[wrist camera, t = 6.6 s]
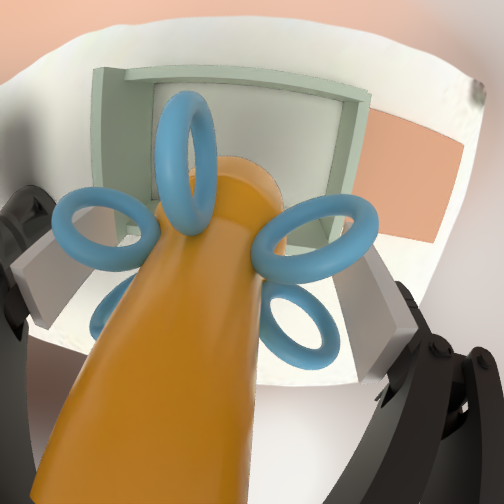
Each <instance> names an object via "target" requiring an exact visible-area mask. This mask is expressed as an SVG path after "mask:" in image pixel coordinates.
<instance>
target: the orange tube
mask: <svg viewBox="0 0 504 504" xmlns="http://www.w3.org/2000/svg"><path fill="white" fill-rule="evenodd" d="M190 129H191V132H192V137H193V143H194V150H195V167H194V168H192V169H191V170H190V171H189V172H188V137H189V130H190ZM154 160H155V175H156V183H157V189H158V193H159V197H160V202H159V204H158V205H157V207H156V210H155V212H154V214H153V213H152V212H151V211H150V210H149V209H148V208H147V207H146V206H145V205H144V204H143V203H141V202H140V201H139V200H137V199H135V198H134V197H132V196H130V195H128V194H126V193H123V192H120V191H117V190H114V189H110V188H104V187H86V188H81V189H77V190H74V191H72V192H70V193H68V194H67V195H65V196H64V197H63V198H62V199H61V200H60V201H59V202H58V203H57V205H56V206H55V208H54V211H53V214H52V231H53V234H54V237H55V239H56V241H57V243H58V244H59V246H60V247H61V248H62V249H63V250H64V251H65V252H66V253H67V254H68V255H69V256H70V257H71V258H73V259H74V260H76V261H78V262H79V263H81V264H83V265H85V266H88V267H91V268H94V269H97V270H102V271H110V272H121V271H128V270H133V269H136V268H139V267H141V268H140V269H139V271H138V272H137V273H136V274H134V275H132V276H131V277H129V278H127V279H126V280H124V281H123V282H122V283H120V284H119V285H118V286H116V287H115V288H114V289H113V290H112V291H111V292H110V293H109V294H108V295H107V296H106V297H105V298H104V299H103V300H102V301H101V303H100V304H99V305H98V307H97V308H96V310H95V311H94V313H93V315H92V318H91V320H90V325H89V329H90V334H91V336H92V337H93V338H94V339H95V340H96V342H95V344H94V346H93V348H92V349H91V351H90V353H89V355H88V357H87V359H86V361H85V363H84V365H83V367H82V368H81V370H80V372H79V374H78V377H77V378H76V380H75V382H74V384H73V386H72V388H71V390H70V393H69V395H68V397H67V399H66V401H65V403H64V405H63V408H62V410H61V412H60V414H59V417H58V419H57V421H56V423H55V426H54V428H53V431H52V433H51V436H50V438H49V440H48V443H47V445H46V448H45V451H44V454H43V456H42V459H41V462H40V465H39V467H38V471H37V473H36V476H35V479H34V482H33V486H32V489H31V492H30V498H31V499H32V500H33V502H34V503H35V504H247V500H248V487H249V475H250V461H251V449H252V433H253V421H254V406H255V390H256V376H257V360H258V344H259V337H260V339H261V340H262V342H263V343H264V344H265V345H266V346H267V348H268V349H269V350H270V351H271V352H272V353H274V354H275V355H276V356H277V357H279V358H280V359H281V360H283V361H284V362H286V363H288V364H290V365H292V366H295V367H297V368H301V369H305V370H318V369H322V368H325V367H327V366H328V365H330V364H331V363H332V362H333V361H334V360H335V359H336V357H337V355H338V353H339V349H340V335H339V331H338V328H337V326H336V323H335V321H334V319H333V318H332V316H331V314H330V313H329V312H328V310H327V309H326V308H325V306H324V305H323V304H322V303H321V302H320V301H319V300H318V299H317V298H316V297H315V296H313V295H312V294H311V293H310V292H308V291H307V290H305V289H304V288H302V287H300V286H298V285H296V284H305V283H310V282H315V281H318V280H322V279H325V278H328V277H330V276H333V275H335V274H337V273H339V272H341V271H343V270H345V269H346V268H348V267H349V266H351V265H352V264H354V263H355V262H356V261H358V260H359V259H360V258H361V257H362V256H363V255H364V254H365V253H366V252H367V251H368V250H369V249H370V247H371V246H372V244H373V243H374V241H375V239H376V237H377V234H378V231H379V216H378V213H377V211H376V209H375V208H374V206H373V205H372V204H371V203H370V202H369V201H367V200H366V199H364V198H362V197H359V196H356V195H351V194H331V195H325V196H320V197H316V198H313V199H310V200H307V201H304V202H302V203H299V204H297V205H295V206H293V207H291V208H289V209H287V210H285V211H284V205H283V200H282V195H281V192H280V190H279V187H278V185H277V184H276V182H275V181H274V179H273V178H272V177H271V175H270V174H269V173H268V172H267V171H266V170H265V169H263V168H262V167H261V166H259V165H258V164H256V163H254V162H252V161H250V160H247V159H244V158H241V157H236V156H219V157H217V147H216V137H215V130H214V125H213V120H212V116H211V113H210V110H209V107H208V105H207V103H206V101H205V100H204V98H203V97H202V96H201V95H200V94H198V93H196V92H194V91H182V92H179V93H177V94H175V95H174V96H173V97H172V98H171V99H170V100H169V101H168V102H167V104H166V105H165V107H164V109H163V111H162V114H161V116H160V119H159V123H158V127H157V132H156V139H155V154H154ZM91 206H100V207H107V208H111V209H114V210H117V211H119V212H121V213H123V214H125V215H127V216H128V217H129V218H131V219H132V220H133V221H134V222H135V223H136V224H137V225H138V227H139V229H140V231H141V238H140V240H139V241H138V242H137V243H135V244H133V245H129V246H124V247H111V246H105V245H101V244H98V243H95V242H93V241H91V240H89V239H87V238H86V237H84V236H83V235H81V234H80V233H79V232H78V231H77V230H76V228H75V227H74V225H73V223H72V216H73V215H74V213H75V212H77V211H78V210H80V209H82V208H86V207H91ZM329 216H346V217H350V218H352V219H353V220H354V222H353V224H352V226H351V227H350V229H349V230H348V231H347V232H346V233H345V234H343V235H342V236H341V237H340V238H338V239H337V240H335V241H333V242H332V243H330V244H328V245H326V246H324V247H322V248H319V249H317V250H314V251H311V252H308V253H304V254H300V255H293V256H285V252H286V246H287V234H289V233H290V232H292V231H293V230H295V229H296V228H298V227H300V226H302V225H304V224H306V223H308V222H311V221H313V220H316V219H320V218H324V217H329ZM273 298H283V299H286V300H289V301H291V302H293V303H295V304H296V305H298V306H299V307H301V308H302V309H303V310H304V311H305V312H306V313H307V314H308V315H309V316H310V317H311V318H312V319H313V321H314V322H315V324H316V325H317V327H318V329H319V331H320V334H321V338H322V345H321V347H320V348H319V349H309V348H306V347H304V346H301V345H300V344H298V343H296V342H295V341H293V340H292V339H291V338H290V337H288V336H287V335H286V334H285V333H284V332H283V330H282V329H281V328H280V327H279V325H278V324H277V322H276V321H275V319H274V317H273V315H272V312H271V308H270V302H271V300H272V299H273Z"/></svg>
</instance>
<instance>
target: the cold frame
mask: <svg viewBox="0 0 504 504" xmlns="http://www.w3.org/2000/svg"><path fill="white" fill-rule="evenodd" d="M172 82H203V83H226V84H240V85H251V86H260V87H268V88H276V89H283V90H289V91H295V92H301V93H306V94H312V95H317V96H321V97H326V98H331V99H335V100H339V101H343V108H342V114H341V120H340V126H339V131H338V137H337V142H336V147H335V152H334V158H333V162H332V167H331V172H330V177H329V182H328V186H327V191H326V195H331V194H351V193H352V189H353V185H354V181H355V177H356V172H357V168H358V164H359V159H360V155H361V150H362V145H363V140H364V135H365V130H366V125H367V119H368V114H369V108H370V102H371V96H372V94H369V93H367V92H368V90H364V89H361V88H357V87H354V86H350V85H346V84H342V83H339V82H334V81H330V80H326V79H321V78H317V77H312V76H306V75H301V74H295V73H289V72H283V71H276V70H268V69H259V68H249V67H237V66H218V65H174V66H156V67H144V68H134V69H117V68H109V67H102V68H96V69H93V79H92V93H91V162H92V177H93V187H104V188H110V189H114V190H117V191H120V192H123V193H126V194H128V195H130V196H132V197H134V198H135V199H137V200H139V201H140V202H141V203H143V204H144V205H145V206H146V207H147V208H148V209H149V210H150V211H151V212H152V213H153V214H154V212H155V210H156V207H157V205H158V204H159V202H160V201H159V200H151V134H152V112H153V97H154V85H155V83H172ZM114 217H115V226H116V233H117V241H118V243H117V244H116V245H115V246H114V247H116V246H117V245H118V244H119V243H120V242H121V241H122V239H123V238H124V237H125V236H126V235H127V234H129V235H136V236H141V231H140V229H139V227H138V225H137V224H136V223H135V222H134V221H133V220H132V219H131V218H129V217H128V216H127V215H125V214H123V213H121V212H119V211H117V210H114ZM344 220H345V216H329V217H324V218H320V220H313V221H311V222H308V223H306V224H304V225H302V226H300V227H298V228H296V229H295V230H293V231H292V232H290V233H289V234H287V246H286V252H285V255H300V254H304V253H308V252H311V251H314V250H317V249H319V248H322V247H324V246H326V245H328V244H330V243H332V242H333V241H335V240H337V239H338V238H339V237H340V234H341V230H342V227H343V223H344Z"/></svg>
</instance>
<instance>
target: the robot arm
mask: <svg viewBox="0 0 504 504" xmlns="http://www.w3.org/2000/svg"><path fill="white" fill-rule="evenodd" d="M55 206H56V204H55V203H54V201H53V200H52V199H51V197H50V196H49V195H48V194H47V193H46V192H45V191H43V190H42V189H40V188H39V187H36V186H32V185H29V186H25V187H23V188H22V189H20V190H18V191H17V192H15V193H14V194H13V195H12V197H11V198H10V199H9V200H8V202H7V203H6V204H5V206H4V207H3V208H2V210H1V211H0V504H35V503H34V502H33V500H32V499H31V498H30V492H31V489H32V486H33V482H34V479H35V476H36V468H35V464H34V458H33V453H32V447H31V440H30V433H29V424H28V412H27V394H26V361H27V341H28V331H29V325H28V322H27V320H26V318H27V317H28V315H29V314H30V315H31V317H32V319H33V321H34V323H35V325H37V326H39V327H42V328H44V329H47V330H49V328H50V327H51V325H52V324H53V323H54V321H55V320H56V318H57V317H58V316H59V314H60V313H61V311H62V310H63V309H64V307H65V306H66V305H67V303H68V302H69V301H70V299H71V298H72V297H73V295H74V294H75V293H76V292H77V290H78V289H79V288H80V287H81V285H82V284H83V283H84V282H85V280H86V279H87V278H88V277H89V275H90V274H91V273H92V272H93V270H94V268H91V267H88V266H85V265H83V264H81V263H79V262H78V261H76V260H74V259H73V258H71V257H70V256H69V255H68V254H67V253H66V252H65V251H64V250H63V249H62V248H61V247H60V246H59V244H58V243H57V241H56V239H55V237H54V234H53V231H52V214H53V211H54V208H55ZM72 223H73V225H74V227H75V228H76V230H77V231H78V232H79V233H80V234H81V235H83V236H84V237H86V238H87V239H89V240H91V241H93V242H95V243H98V244H101V245H105V246H111V247H114V246H115V245H116V244H117V243H118V241H117V233H116V226H115V217H114V209H111V208H107V207H100V206H91V207H86V208H82V209H80V210H78V211H77V212H75V213H74V215H73V216H72ZM352 224H353V223H352V222H346V221H345V224H344V227H343V231H342V234H341V236H342V235H343V234H345V233H346V232H347V231H348V230H349V229H350V227H351V226H352ZM332 278H333V281H334V285H335V288H336V292H337V295H338V299H339V303H340V306H341V310H342V314H343V317H344V321H345V325H346V329H347V333H348V337H349V341H350V345H351V349H352V353H353V358H354V362H355V367H356V371H357V376H358V380H359V384H373V383H379V382H380V381H381V380H382V379H383V377H384V376H385V375H386V373H387V375H388V379H389V383H388V384H387V386H386V387H385V388H384V389H383V390H382V391H381V392H380V394H379V395H378V396H377V397H376V399H375V401H378V400H379V398H380V397H381V398H380V400H379V403H378V405H377V407H376V410H375V412H374V414H373V416H372V419H371V420H370V423H369V425H368V427H367V429H366V431H365V433H364V435H363V437H362V439H361V441H360V443H359V445H358V447H357V449H356V450H355V452H354V454H353V456H352V458H351V459H350V461H349V463H348V465H347V466H346V468H345V470H344V471H343V473H342V475H341V476H340V478H339V479H338V481H337V483H336V484H335V486H334V487H333V489H332V490H331V492H330V493H329V495H328V496H327V498H326V499H325V501H324V502H323V504H419V503H420V504H504V397H503V391H502V386H501V381H500V377H499V372H498V368H497V364H496V362H495V359H494V357H493V356H492V354H491V353H490V352H489V351H488V350H487V349H484V348H482V347H475V348H473V349H472V351H471V352H470V353H469V354H468V355H467V356H464V355H461V354H457V353H454V351H453V349H452V347H451V345H450V344H449V343H448V342H447V340H446V339H444V338H443V337H441V336H439V335H436V334H432V333H431V331H430V329H429V327H428V325H427V323H426V321H425V319H424V317H423V315H422V313H421V311H420V310H419V309H418V306H417V304H416V302H415V301H414V298H413V297H412V295H411V293H410V291H409V290H408V289H407V288H406V287H405V286H404V285H403V284H402V283H401V282H399V281H394V280H393V278H392V276H391V274H390V272H389V271H388V269H387V267H386V265H385V264H384V262H383V260H382V259H381V257H380V255H379V254H378V252H377V250H376V249H375V247H374V245H373V244H372V246H371V247H370V249H369V250H368V251H367V252H366V253H365V254H364V255H363V256H362V257H361V258H360V259H359V260H358V261H356V262H355V263H354V264H352V265H351V266H349V267H348V268H346V269H345V270H343V271H341V272H339V273H337V274H335V275H333V276H332ZM467 401H468V410H466V412H464V413H463V410H462V406H463V405H464V404H465V403H466V402H467Z"/></svg>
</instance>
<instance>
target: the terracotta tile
mask: <svg viewBox="0 0 504 504" xmlns="http://www.w3.org/2000/svg"><path fill="white" fill-rule="evenodd" d="M463 149H464V145H463V144H461V143H458V142H456V141H454V140H452V139H450V138H448V137H446V136H444V135H441V134H439V133H437V132H434V131H432V130H430V129H427V128H425V127H422V126H420V125H417V124H415V123H412V122H409V121H407V120H404V119H401V118H398V117H396V116H393V115H390V114H387V113H384V112H380V111H377V110H374V109H371V108H369V114H368V119H367V125H366V130H365V135H364V140H363V145H362V150H361V155H360V159H359V164H358V168H357V172H356V177H355V181H354V185H353V189H352V193H351V195H356V196H359V197H362V198H364V199H366V200H367V201H369V202H370V203H371V204H372V205H373V206H374V208H375V209H376V211H377V213H378V216H379V231H378V233H381V234H387V235H392V236H398V237H403V238H408V239H413V240H418V241H423V242H428V243H434V241H435V238H436V236H437V233H438V230H439V228H440V225H441V223H442V220H443V217H444V214H445V211H446V209H447V206H448V203H449V200H450V196H451V193H452V190H453V187H454V183H455V180H456V176H457V173H458V169H459V165H460V161H461V157H462V153H463ZM345 221H346V222H352V223H353V222H354V220H353V219H352V218H350V217H346V216H345V220H344V223H343V227H344V224H345Z"/></svg>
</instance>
